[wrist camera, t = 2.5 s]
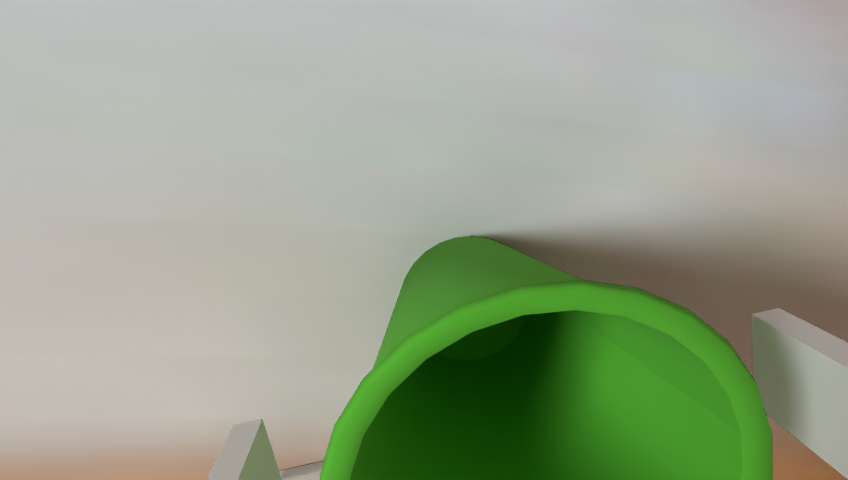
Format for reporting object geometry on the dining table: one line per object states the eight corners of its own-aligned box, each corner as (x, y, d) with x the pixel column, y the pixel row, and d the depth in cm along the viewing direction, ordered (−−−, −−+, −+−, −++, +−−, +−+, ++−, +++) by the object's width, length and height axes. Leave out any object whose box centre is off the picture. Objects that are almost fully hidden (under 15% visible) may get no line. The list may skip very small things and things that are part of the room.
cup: (317, 229, 19) (239, 384, 9) (546, 152, 19) (746, 216, 9) (393, 424, 22) (404, 730, 11) (597, 357, 22) (802, 601, 11)
